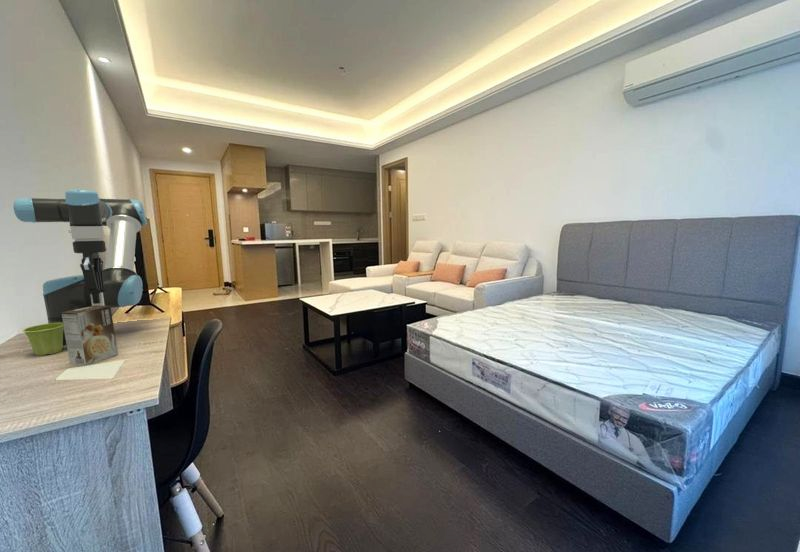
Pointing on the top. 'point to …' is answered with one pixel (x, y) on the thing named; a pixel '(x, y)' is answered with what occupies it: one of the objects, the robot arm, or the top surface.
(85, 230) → the robot arm
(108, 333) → the coffee box
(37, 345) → the plant pot
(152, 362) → the top surface
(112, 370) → the cream flat rectangular sheet
